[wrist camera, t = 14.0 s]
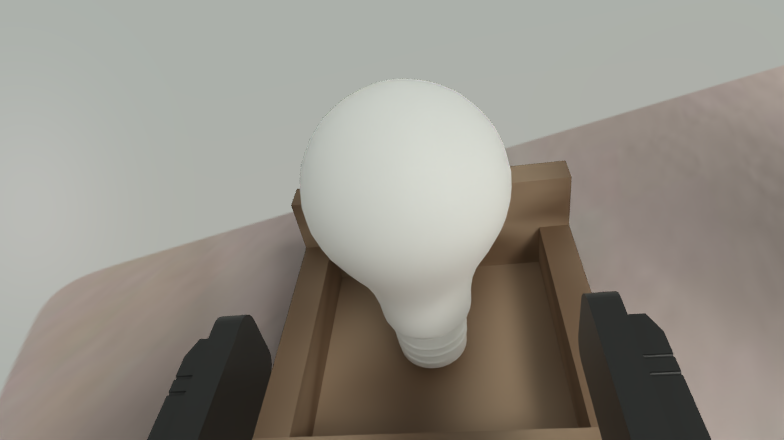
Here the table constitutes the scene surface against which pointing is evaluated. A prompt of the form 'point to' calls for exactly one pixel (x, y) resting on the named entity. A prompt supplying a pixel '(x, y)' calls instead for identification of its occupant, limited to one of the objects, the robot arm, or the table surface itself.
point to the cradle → (475, 365)
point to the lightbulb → (409, 205)
